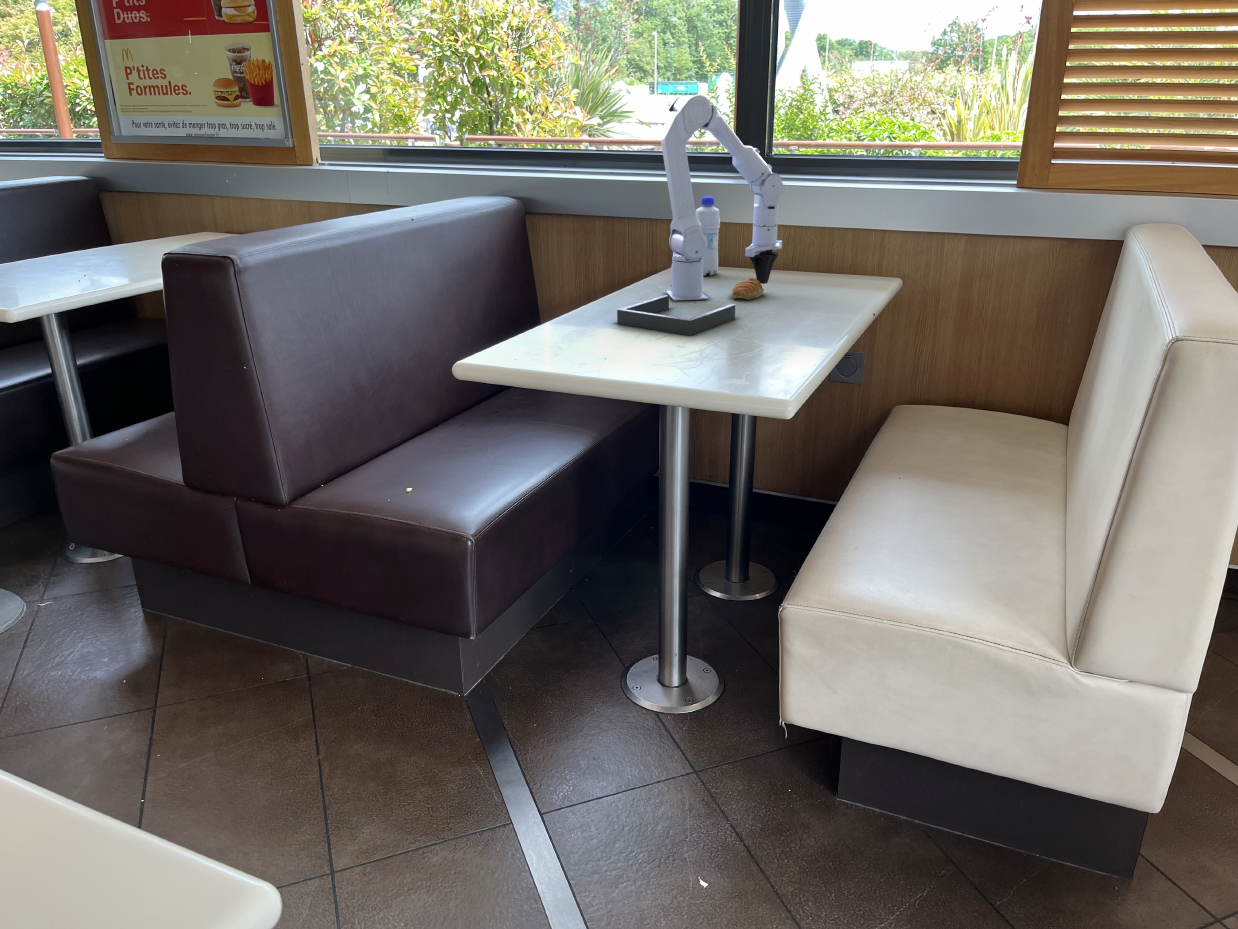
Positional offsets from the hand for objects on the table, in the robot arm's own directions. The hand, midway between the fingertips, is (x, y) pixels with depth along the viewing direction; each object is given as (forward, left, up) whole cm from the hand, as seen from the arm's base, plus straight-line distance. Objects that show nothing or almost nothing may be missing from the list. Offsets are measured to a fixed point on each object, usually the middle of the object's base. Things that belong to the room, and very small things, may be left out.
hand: (762, 283), depth 215 cm
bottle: (-25, -8, -2) cm, 26 cm away
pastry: (+5, -5, -2) cm, 8 cm away
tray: (+26, -26, -2) cm, 37 cm away
